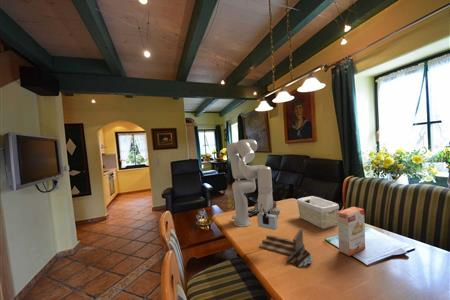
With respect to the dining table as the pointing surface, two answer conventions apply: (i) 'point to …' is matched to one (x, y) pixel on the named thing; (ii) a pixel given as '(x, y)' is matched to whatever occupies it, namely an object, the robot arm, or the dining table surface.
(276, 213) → the pottery
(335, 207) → the storage basket
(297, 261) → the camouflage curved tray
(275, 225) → the door slab
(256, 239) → the dining table surface
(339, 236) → the cracker box
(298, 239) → the track base
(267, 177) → the robot arm
